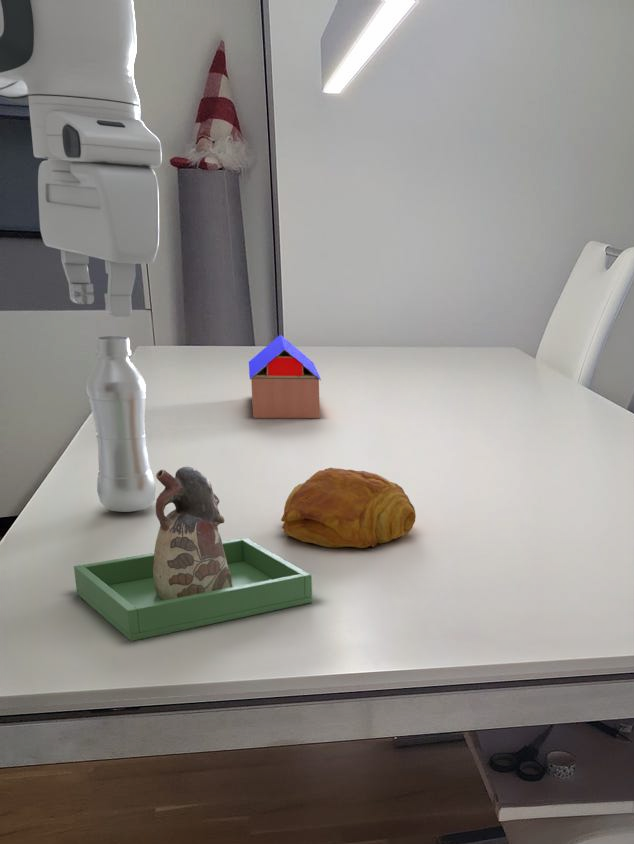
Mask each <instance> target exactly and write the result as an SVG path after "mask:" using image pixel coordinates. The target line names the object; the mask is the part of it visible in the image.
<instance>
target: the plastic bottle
mask: <svg viewBox="0 0 634 844" xmlns="http://www.w3.org/2000/svg"><path fill="white" fill-rule="evenodd" d="M94 341H95V350H94V352H95V355H96V356H98V360H97V361H96V363H95V364H94V366H93V367H92V368H91V371H90V373H89V375H88V377H87V380H86V386H85V387H86V388H85V389H86V392H87V393H86V394H87V396H88V397H87V398H88V401H89V405H90V410H91V413H92V417H93V422H94V429H95V432H96V441H97V451H98V453H97V455H98V457H97V459H98V473H97V480H96V481H97V483H96V485H97V486H96V488H97V489H96V492H97V495H98V499H99V503H100V504H101V505H102V506H103V508H105V509H106V510H108V511H111V512H119V513H132V512H138V511H143V510H146V509H148V508H150V507H152V505H153V503H154V501H156V500H155V499H156V489H157V488H156V483H155V479H154V475H153V471H152V469H151V465H150V464H151V463H150V459H149V453H148V448H147V442H146V441H147V440H146V439H147V438H146V433H145V431H146V400H147V399H146V398H147V396H146V394H147V385H146V382H145V379H144V376H143V375H142V374H141V372H140V371H139V369H138V368H137V367H136V366H135V364H134V363H133V362H132V361H131V359H130V356H131V355H132V349H131V340H130V337H129V336H121V335H102V336H96V337H95V340H94Z"/></svg>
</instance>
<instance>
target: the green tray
mask: <svg viewBox="0 0 634 844" xmlns="http://www.w3.org/2000/svg"><path fill="white" fill-rule="evenodd" d="M222 545H223V549H224V553H225V557H226V561H227V565H228V568H229V571H230V574H231V580H232V586H233V587H231V588H226V589H221V590H216V591H211V592H206V593H200V594H195V595H190V596H185V597H180V598H175V599H170V600H165V601H164V600H162V599H161V598H159V597H158V596H157V594H156V590H155V585H154V578H153V566H154V552H152V553H145V554H140V555H132V556H127V557H122V558H115V559H109V560H102V561H98V562H92V563H85V564H78V565H73V570H74V571H73V572H74V580H75V589H76V595H78V596H79V597H80V598H81V599H82V600H83V601H85V602H86V603H87V604H88V605H89V606H90V607H91V608H92V609H94V611H96V612H97V613H98V614H99V615H101V617H102V618H104V619H105V620H106V621H107V622H108V623H110V624H111V625H112V626H113V627H114V628H115V629H117V631H118V632H120V633H121V634H122V635H123V636H124V637H125V638H127V639H128V640H129V641H130V642H133V641H139V640H143V639H149V638H153V637H158V636H161V635H162V636H163V635H166V634H171V633H176V632H181V631H184V630H189V629H194V628H199V627H203V626H209V625H212V624H217V623H221V622H222V623H223V622H227V621H232V620H236V619H241V618H245V617H250V616H255V615H259V614H263V613H264V614H265V613H269V612H273V611H279V610H283V609H287V608H292V607H296V606H302V605H305V604H306V605H307V604H311V603H313V597H312V596H313V583H312V582H313V581H312V577H313V576H312V574H310V573H309V572H307V571H305V570H304V569H302V568H300V567H298V566H297V565H295V564H293V563H291V562H289V561H288V560H286V559H284V558H282V557H281V556H279V555H277V554H275V553H274V552H272V551H270V550H268V549H266V548H265V547H264V546H261V545H259V544H258V543H256V542H254V541H252V540H251V539H249V538H247V537H241V538H236V539H229V540H224V541H223V540H222Z"/></svg>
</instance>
